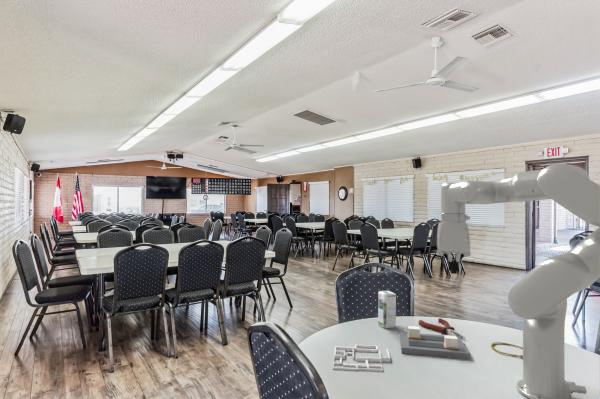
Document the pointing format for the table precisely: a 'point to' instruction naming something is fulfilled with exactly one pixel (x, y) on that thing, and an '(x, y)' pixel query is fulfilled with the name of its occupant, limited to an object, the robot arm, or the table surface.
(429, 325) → the pliers
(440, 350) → the switch panel
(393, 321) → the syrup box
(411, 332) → the tab
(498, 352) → the extension cord
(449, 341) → the tab
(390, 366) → the table surface
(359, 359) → the floor plan model
